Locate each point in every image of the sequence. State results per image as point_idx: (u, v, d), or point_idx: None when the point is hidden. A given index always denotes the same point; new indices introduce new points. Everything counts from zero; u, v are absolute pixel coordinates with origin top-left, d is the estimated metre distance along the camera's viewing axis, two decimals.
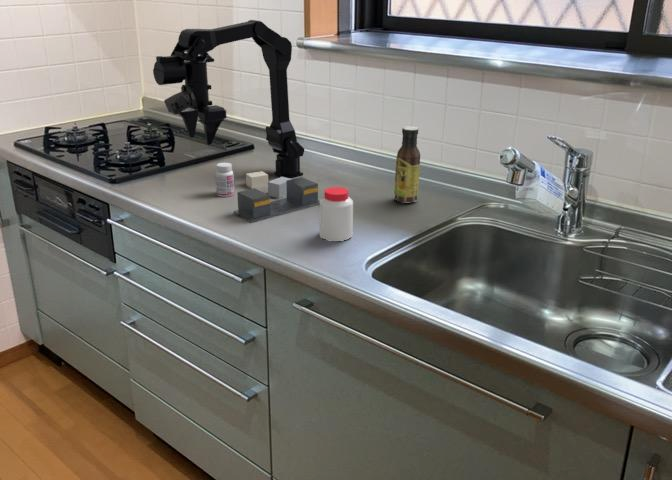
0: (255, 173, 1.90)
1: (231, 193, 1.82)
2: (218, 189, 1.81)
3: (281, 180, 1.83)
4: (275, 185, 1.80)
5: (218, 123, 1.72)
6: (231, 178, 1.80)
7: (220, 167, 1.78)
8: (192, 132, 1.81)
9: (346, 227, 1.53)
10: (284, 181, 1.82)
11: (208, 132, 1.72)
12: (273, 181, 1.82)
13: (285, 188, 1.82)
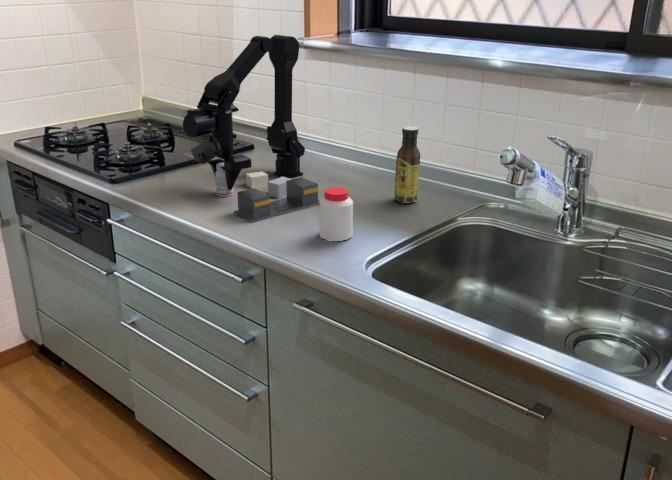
0: (255, 173, 1.90)
1: (231, 193, 1.82)
2: (218, 189, 1.81)
3: (281, 180, 1.83)
4: (274, 185, 1.80)
5: (239, 169, 1.78)
6: None
7: (220, 166, 1.78)
8: None
9: (346, 227, 1.53)
10: (284, 181, 1.82)
11: (229, 178, 1.78)
12: (273, 181, 1.82)
13: (285, 188, 1.82)
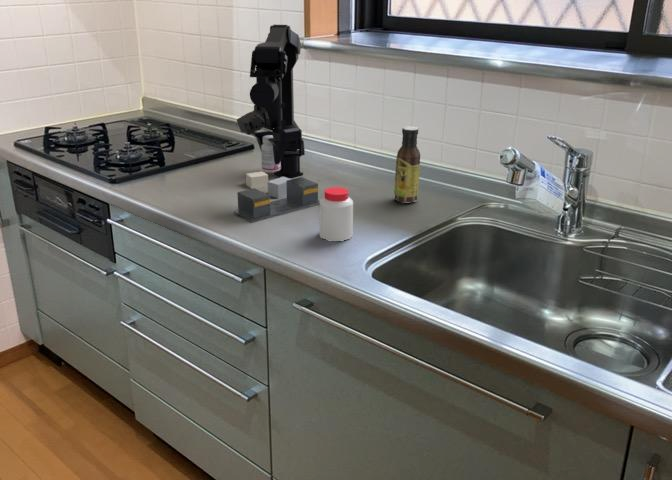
0: (255, 173, 1.90)
1: (278, 168, 1.68)
2: (264, 163, 1.68)
3: (282, 180, 1.83)
4: (274, 184, 1.80)
5: (287, 142, 1.65)
6: None
7: (267, 139, 1.65)
8: None
9: (346, 227, 1.53)
10: (284, 181, 1.82)
11: (277, 151, 1.65)
12: (273, 181, 1.82)
13: (284, 188, 1.82)
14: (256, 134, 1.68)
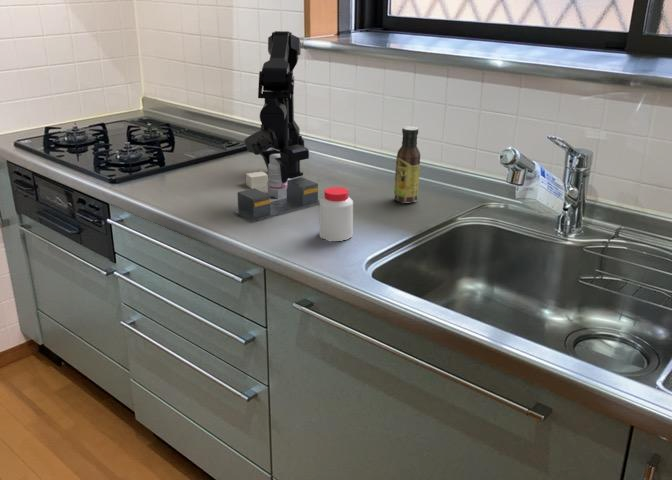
0: (255, 173, 1.90)
1: (285, 186, 1.70)
2: (271, 182, 1.69)
3: None
4: None
5: (294, 161, 1.66)
6: None
7: (274, 158, 1.66)
8: None
9: (346, 227, 1.53)
10: None
11: (284, 170, 1.66)
12: None
13: None
14: (263, 153, 1.69)
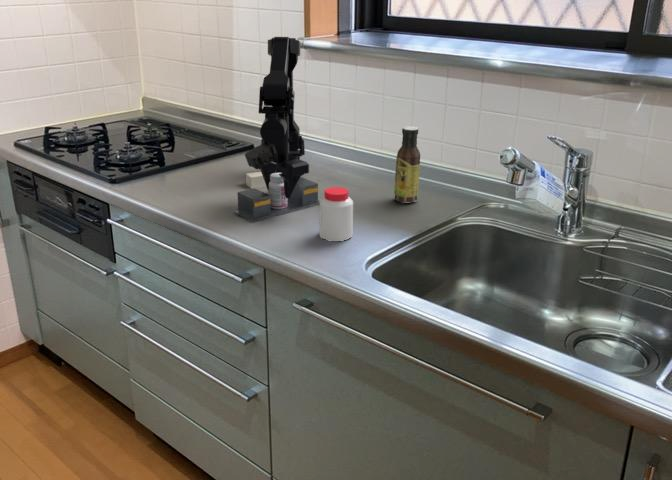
0: (255, 173, 1.90)
1: (285, 205, 1.72)
2: (271, 201, 1.71)
3: None
4: None
5: (298, 176, 1.67)
6: None
7: (275, 177, 1.68)
8: None
9: (346, 227, 1.53)
10: None
11: (288, 186, 1.66)
12: None
13: None
14: None
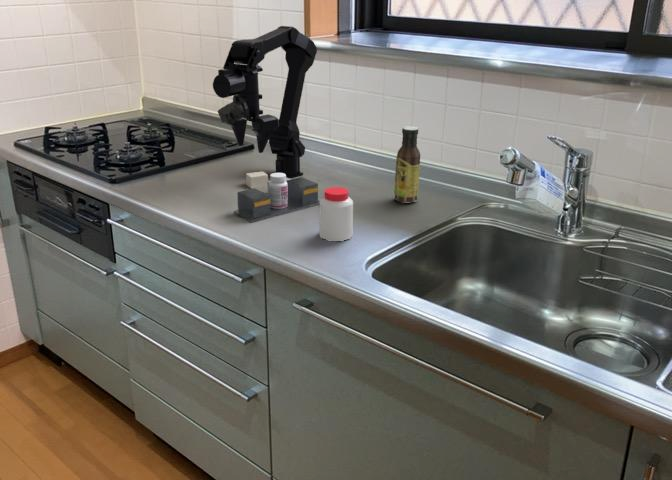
0: (255, 173, 1.90)
1: (285, 205, 1.72)
2: (271, 201, 1.71)
3: None
4: None
5: (270, 132, 1.77)
6: (285, 189, 1.70)
7: (275, 177, 1.68)
8: (241, 140, 1.85)
9: (346, 227, 1.53)
10: None
11: (261, 141, 1.76)
12: None
13: None
14: None
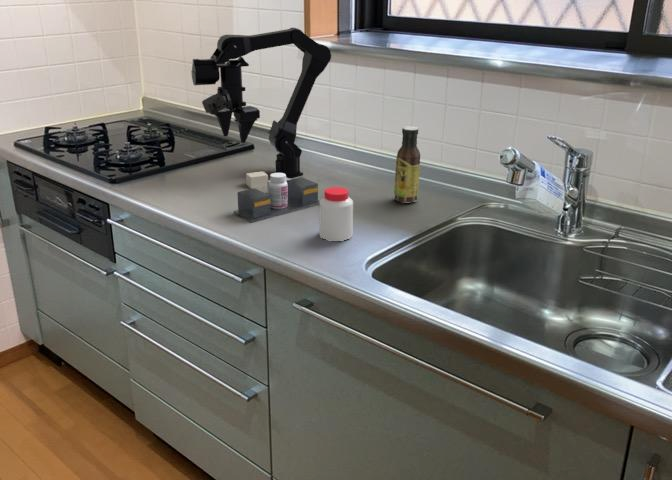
0: (255, 173, 1.90)
1: (285, 205, 1.72)
2: (271, 201, 1.71)
3: None
4: None
5: (252, 122, 1.85)
6: (285, 189, 1.70)
7: (275, 177, 1.68)
8: (226, 131, 1.93)
9: (346, 227, 1.53)
10: None
11: (242, 131, 1.84)
12: None
13: None
14: (216, 113, 1.90)
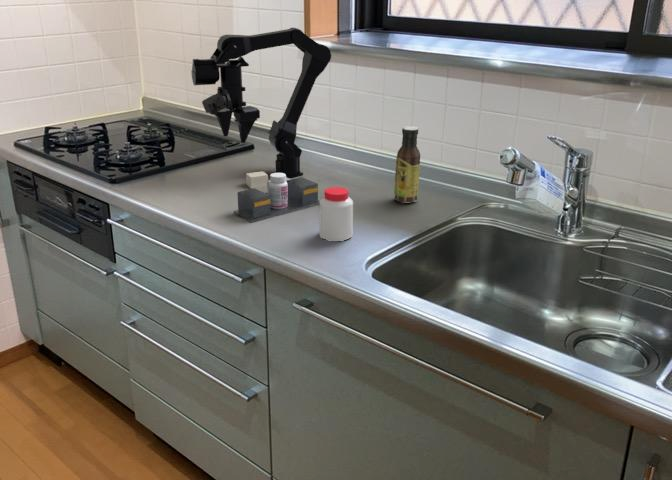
0: (255, 173, 1.90)
1: (285, 205, 1.72)
2: (271, 201, 1.71)
3: None
4: None
5: (252, 122, 1.85)
6: (285, 189, 1.70)
7: (275, 177, 1.68)
8: (226, 131, 1.93)
9: (346, 227, 1.53)
10: None
11: (242, 131, 1.84)
12: None
13: None
14: (216, 113, 1.90)
